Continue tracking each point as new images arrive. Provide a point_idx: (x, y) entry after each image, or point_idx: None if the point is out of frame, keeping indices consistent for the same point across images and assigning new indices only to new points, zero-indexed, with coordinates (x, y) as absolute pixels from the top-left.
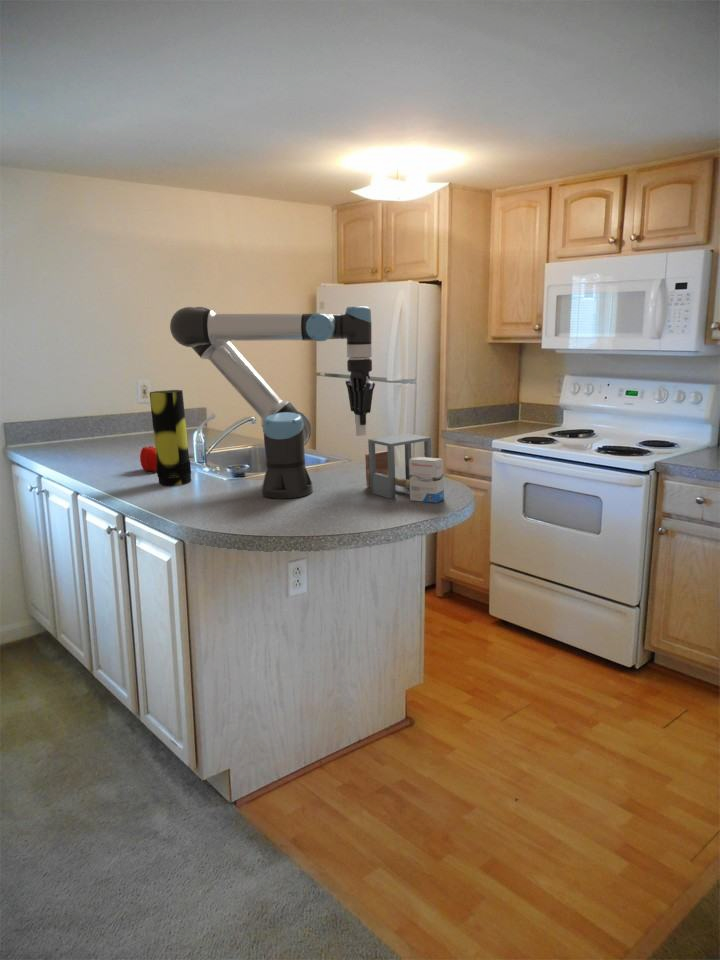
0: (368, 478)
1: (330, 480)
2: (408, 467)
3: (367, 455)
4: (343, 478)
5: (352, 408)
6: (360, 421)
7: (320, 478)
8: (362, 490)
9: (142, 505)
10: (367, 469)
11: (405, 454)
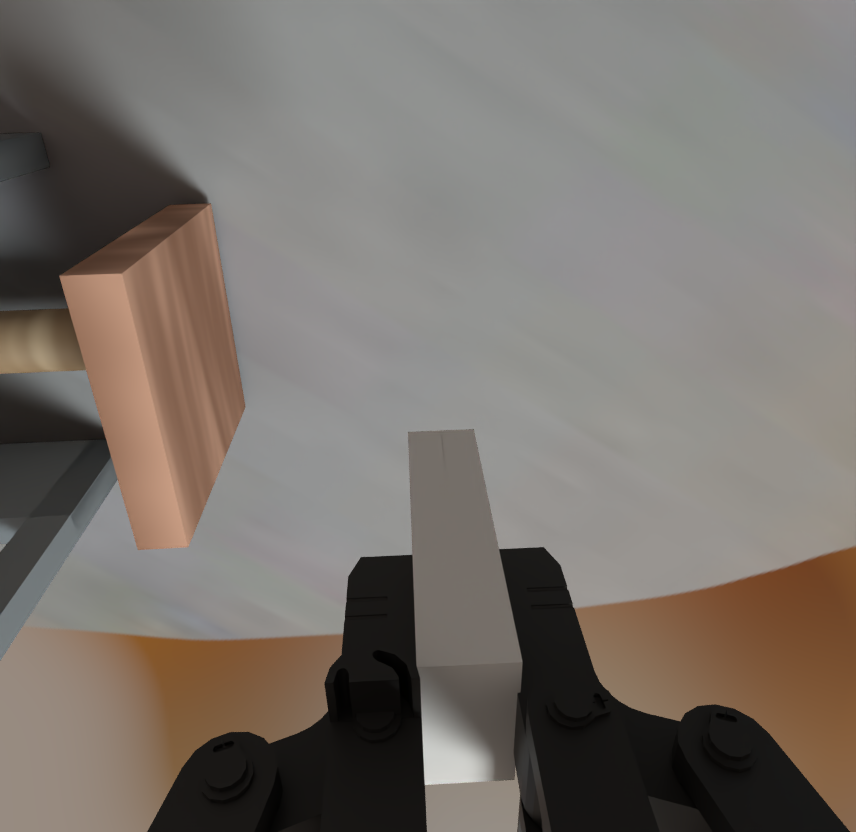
0: (158, 217)
1: (618, 105)
2: (31, 512)
3: (80, 272)
4: (594, 228)
5: (703, 776)
6: (405, 597)
7: (746, 78)
8: (133, 117)
9: None
10: (144, 234)
11: (20, 577)
